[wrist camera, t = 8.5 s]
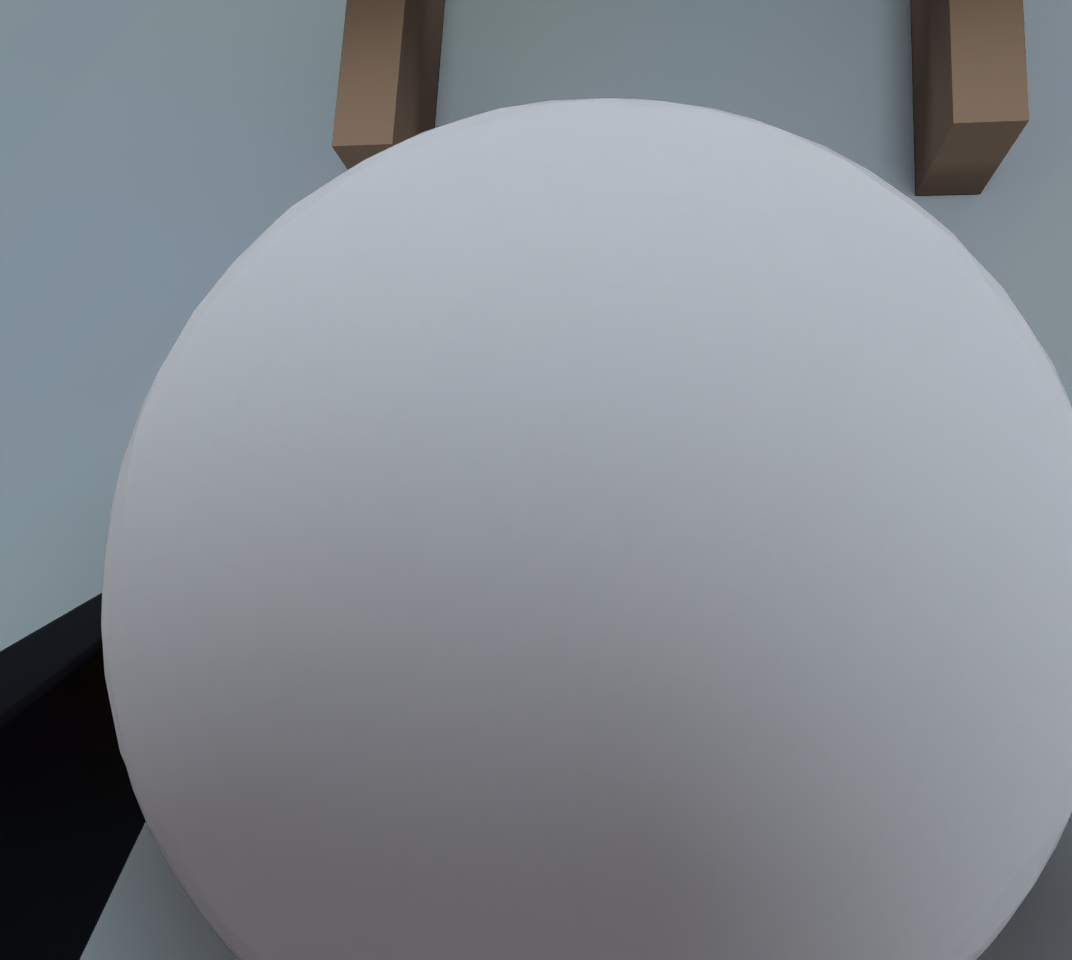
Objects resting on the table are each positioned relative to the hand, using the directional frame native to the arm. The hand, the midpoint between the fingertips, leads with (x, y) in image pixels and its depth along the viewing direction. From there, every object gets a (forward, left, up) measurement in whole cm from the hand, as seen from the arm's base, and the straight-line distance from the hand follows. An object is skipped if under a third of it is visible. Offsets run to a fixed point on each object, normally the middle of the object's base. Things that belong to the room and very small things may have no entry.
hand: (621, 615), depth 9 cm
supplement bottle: (0, 0, -8) cm, 8 cm away
